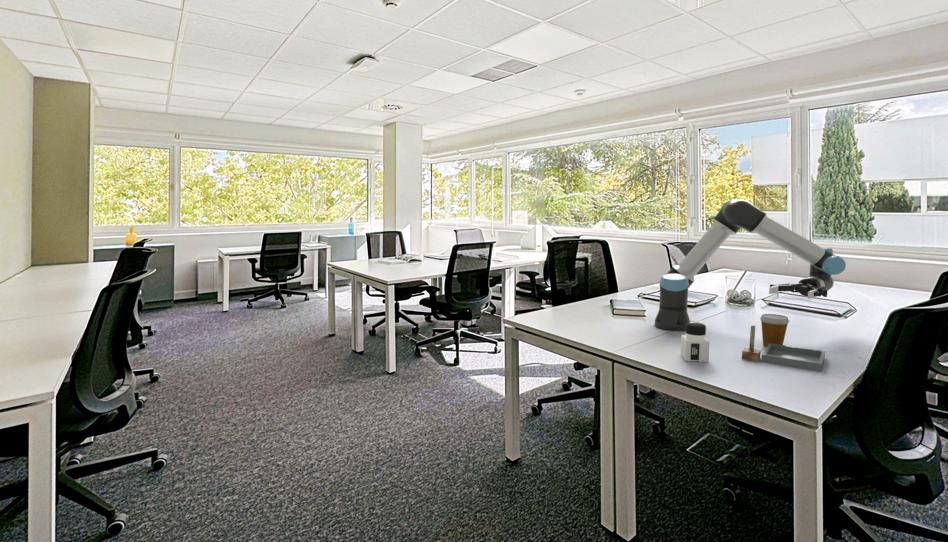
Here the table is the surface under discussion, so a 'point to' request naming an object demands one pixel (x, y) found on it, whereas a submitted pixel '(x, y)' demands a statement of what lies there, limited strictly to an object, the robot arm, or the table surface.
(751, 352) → the stand
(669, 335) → the table surface
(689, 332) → the container
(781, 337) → the disposable coffee cup
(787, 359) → the tray
